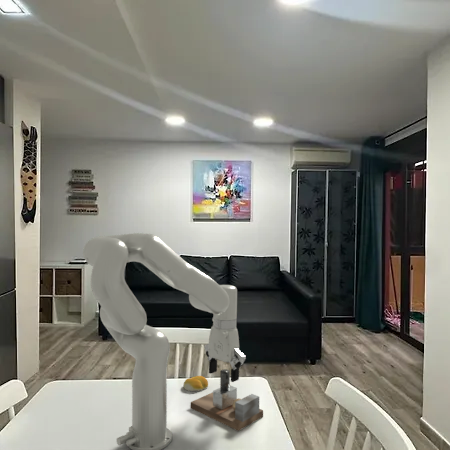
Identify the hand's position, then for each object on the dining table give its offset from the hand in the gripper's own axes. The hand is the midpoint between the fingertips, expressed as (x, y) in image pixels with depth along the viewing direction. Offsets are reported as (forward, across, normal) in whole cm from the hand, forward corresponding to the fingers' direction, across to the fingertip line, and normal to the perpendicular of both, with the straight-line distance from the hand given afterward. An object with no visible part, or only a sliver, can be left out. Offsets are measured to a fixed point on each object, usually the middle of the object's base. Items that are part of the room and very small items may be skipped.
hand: (223, 376), depth 129 cm
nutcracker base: (+12, +1, +1) cm, 12 cm away
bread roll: (+12, -21, +8) cm, 25 cm away
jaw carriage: (+9, 0, +1) cm, 9 cm away
